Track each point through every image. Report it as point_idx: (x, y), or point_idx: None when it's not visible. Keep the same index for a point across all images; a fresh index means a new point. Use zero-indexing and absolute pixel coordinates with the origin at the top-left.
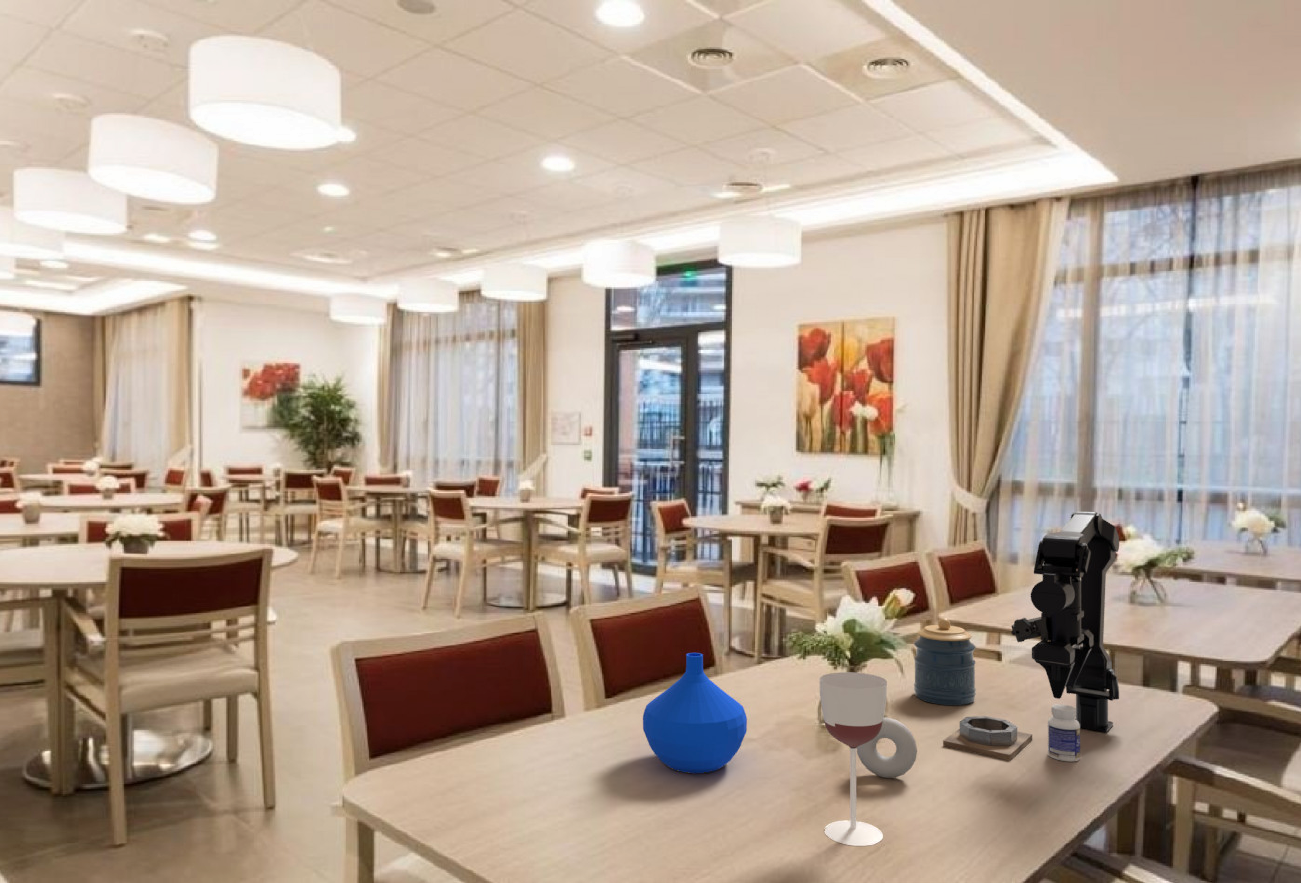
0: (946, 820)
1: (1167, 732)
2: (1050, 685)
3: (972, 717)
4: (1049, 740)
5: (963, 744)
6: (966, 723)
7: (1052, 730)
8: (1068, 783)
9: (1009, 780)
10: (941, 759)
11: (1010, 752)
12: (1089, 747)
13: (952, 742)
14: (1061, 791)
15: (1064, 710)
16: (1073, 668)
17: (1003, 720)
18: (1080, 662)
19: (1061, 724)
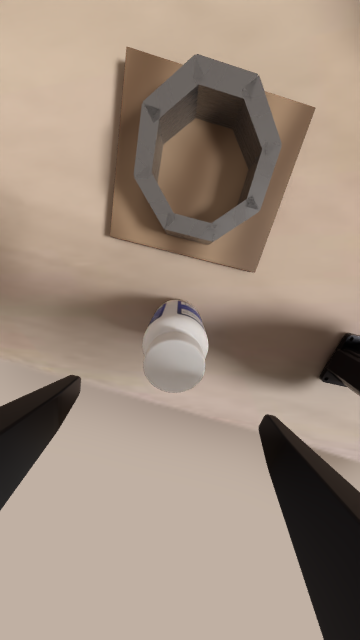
0: None
1: (337, 439)
2: (7, 404)
3: (256, 99)
4: (163, 308)
5: (122, 117)
6: (187, 84)
7: (151, 321)
8: (64, 326)
9: (16, 242)
10: (36, 76)
11: (123, 235)
12: (239, 355)
13: (124, 81)
14: (25, 317)
15: (144, 369)
16: (310, 534)
17: (252, 203)
18: (332, 630)
19: (143, 345)
